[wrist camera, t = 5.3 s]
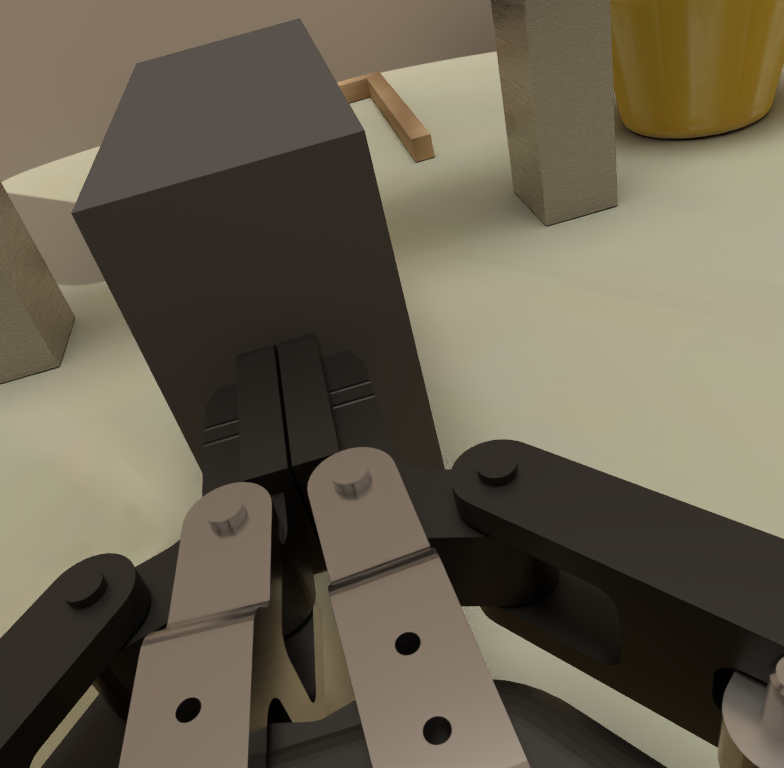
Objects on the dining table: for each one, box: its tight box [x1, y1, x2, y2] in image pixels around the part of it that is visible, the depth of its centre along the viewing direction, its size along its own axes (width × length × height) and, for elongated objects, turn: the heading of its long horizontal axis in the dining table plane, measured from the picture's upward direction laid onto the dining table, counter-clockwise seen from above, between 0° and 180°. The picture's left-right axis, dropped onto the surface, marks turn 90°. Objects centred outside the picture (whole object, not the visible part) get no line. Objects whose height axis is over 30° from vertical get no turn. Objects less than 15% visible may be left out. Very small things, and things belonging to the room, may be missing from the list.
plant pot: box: [610, 0, 784, 139], centre depth 33 cm, size 10×10×10 cm
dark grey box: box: [72, 19, 445, 575], centre depth 20 cm, size 5×13×10 cm, turn 11°
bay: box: [337, 71, 434, 162], centre depth 44 cm, size 16×15×1 cm
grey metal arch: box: [0, 0, 617, 383], centre depth 25 cm, size 26×4×20 cm, turn 101°
